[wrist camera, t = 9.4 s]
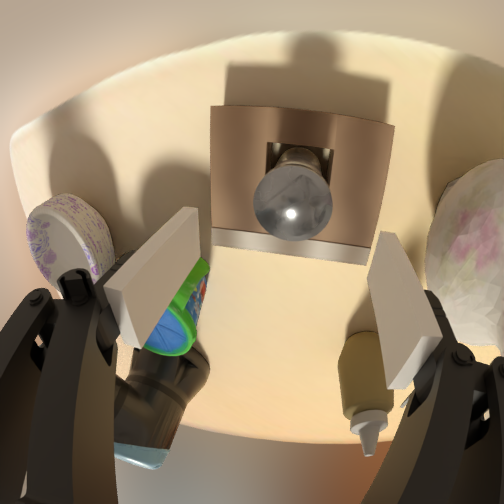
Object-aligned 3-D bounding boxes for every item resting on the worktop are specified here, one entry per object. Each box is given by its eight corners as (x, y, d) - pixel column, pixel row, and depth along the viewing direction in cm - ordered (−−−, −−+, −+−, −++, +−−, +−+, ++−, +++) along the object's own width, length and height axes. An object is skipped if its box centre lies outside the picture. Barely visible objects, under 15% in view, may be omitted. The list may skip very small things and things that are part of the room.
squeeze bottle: (333, 329, 37) (331, 448, 22) (388, 320, 34) (408, 437, 19) (340, 363, 40) (337, 466, 25) (388, 354, 38) (399, 457, 22)
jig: (223, 228, 32) (212, 245, 29) (223, 105, 25) (210, 106, 21) (360, 246, 30) (366, 265, 26) (383, 122, 22) (395, 126, 19)
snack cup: (179, 320, 42) (152, 369, 34) (130, 275, 39) (93, 318, 31) (248, 275, 35) (227, 334, 26) (189, 214, 32) (147, 259, 24)
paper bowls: (140, 274, 39) (112, 308, 32) (77, 271, 42) (51, 297, 36) (109, 176, 31) (68, 198, 25) (48, 193, 35) (14, 213, 28)
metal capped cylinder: (272, 189, 29) (251, 236, 19) (275, 140, 26) (254, 162, 17) (321, 195, 28) (326, 246, 19) (327, 146, 25) (338, 172, 16)
